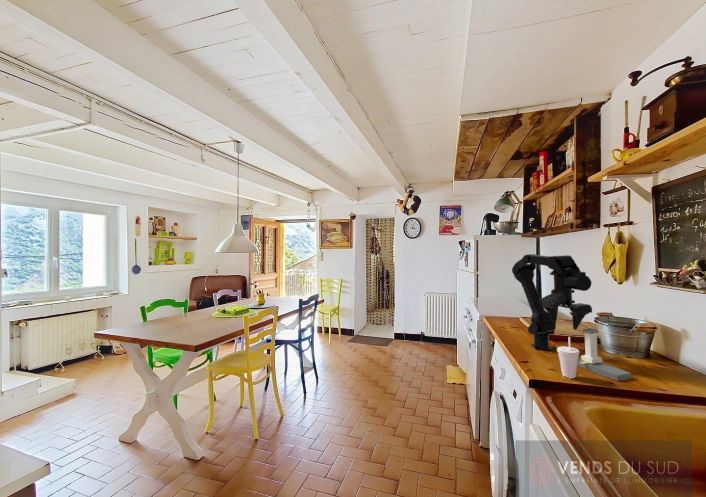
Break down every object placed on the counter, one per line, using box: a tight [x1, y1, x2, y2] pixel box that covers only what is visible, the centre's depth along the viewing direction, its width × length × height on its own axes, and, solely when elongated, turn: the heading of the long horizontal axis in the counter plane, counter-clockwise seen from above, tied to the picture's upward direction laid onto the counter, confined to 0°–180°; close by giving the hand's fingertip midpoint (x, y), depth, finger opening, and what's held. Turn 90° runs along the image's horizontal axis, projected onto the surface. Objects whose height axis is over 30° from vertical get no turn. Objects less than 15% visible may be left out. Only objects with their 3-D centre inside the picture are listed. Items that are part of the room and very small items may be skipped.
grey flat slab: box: [577, 358, 632, 381], centre depth 107 cm, size 14×9×2 cm, turn 12°
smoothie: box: [556, 336, 580, 378], centre depth 104 cm, size 6×6×14 cm
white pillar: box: [580, 327, 603, 364], centre depth 111 cm, size 4×4×12 cm
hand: (564, 326), depth 120 cm, fingers open, 9 cm apart
